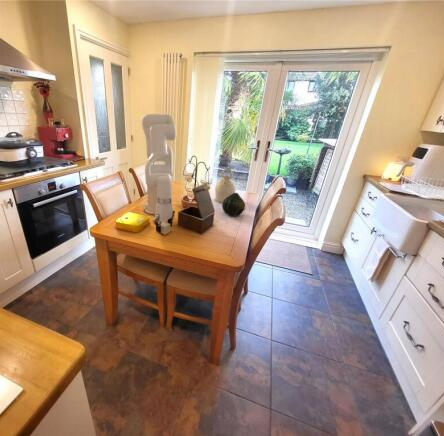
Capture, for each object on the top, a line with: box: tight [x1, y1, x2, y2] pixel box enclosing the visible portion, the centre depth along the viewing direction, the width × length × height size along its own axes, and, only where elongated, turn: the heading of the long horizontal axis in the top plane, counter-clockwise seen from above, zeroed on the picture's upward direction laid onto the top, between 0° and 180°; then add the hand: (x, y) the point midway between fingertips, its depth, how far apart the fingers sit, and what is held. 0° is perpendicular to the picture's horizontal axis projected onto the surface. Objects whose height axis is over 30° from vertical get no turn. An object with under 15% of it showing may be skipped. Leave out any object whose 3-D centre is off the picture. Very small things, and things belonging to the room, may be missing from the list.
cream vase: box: [214, 167, 236, 204], centre depth 177 cm, size 15×16×25 cm
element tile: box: [115, 211, 150, 233], centre depth 137 cm, size 15×15×5 cm
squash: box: [221, 192, 246, 217], centre depth 157 cm, size 14×15×15 cm
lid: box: [191, 183, 216, 219], centre depth 130 cm, size 17×14×5 cm
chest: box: [177, 205, 215, 235], centre depth 139 cm, size 17×14×9 cm
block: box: [160, 221, 171, 236], centre depth 131 cm, size 5×5×5 cm
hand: (164, 228), depth 131 cm, fingers open, 9 cm apart
